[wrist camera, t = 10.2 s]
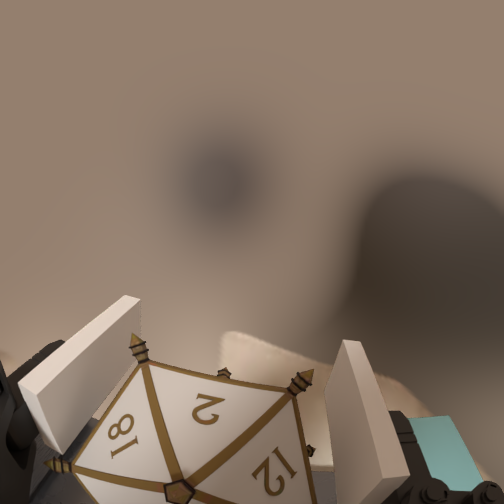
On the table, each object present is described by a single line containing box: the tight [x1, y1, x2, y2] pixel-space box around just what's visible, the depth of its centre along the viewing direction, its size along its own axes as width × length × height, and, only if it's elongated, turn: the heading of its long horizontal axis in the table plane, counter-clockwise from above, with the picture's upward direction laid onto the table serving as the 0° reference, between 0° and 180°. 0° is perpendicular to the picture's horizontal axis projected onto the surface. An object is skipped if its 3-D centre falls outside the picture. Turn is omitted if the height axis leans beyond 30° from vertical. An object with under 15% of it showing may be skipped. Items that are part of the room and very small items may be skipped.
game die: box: [42, 332, 318, 504], centre depth 7 cm, size 9×8×10 cm
